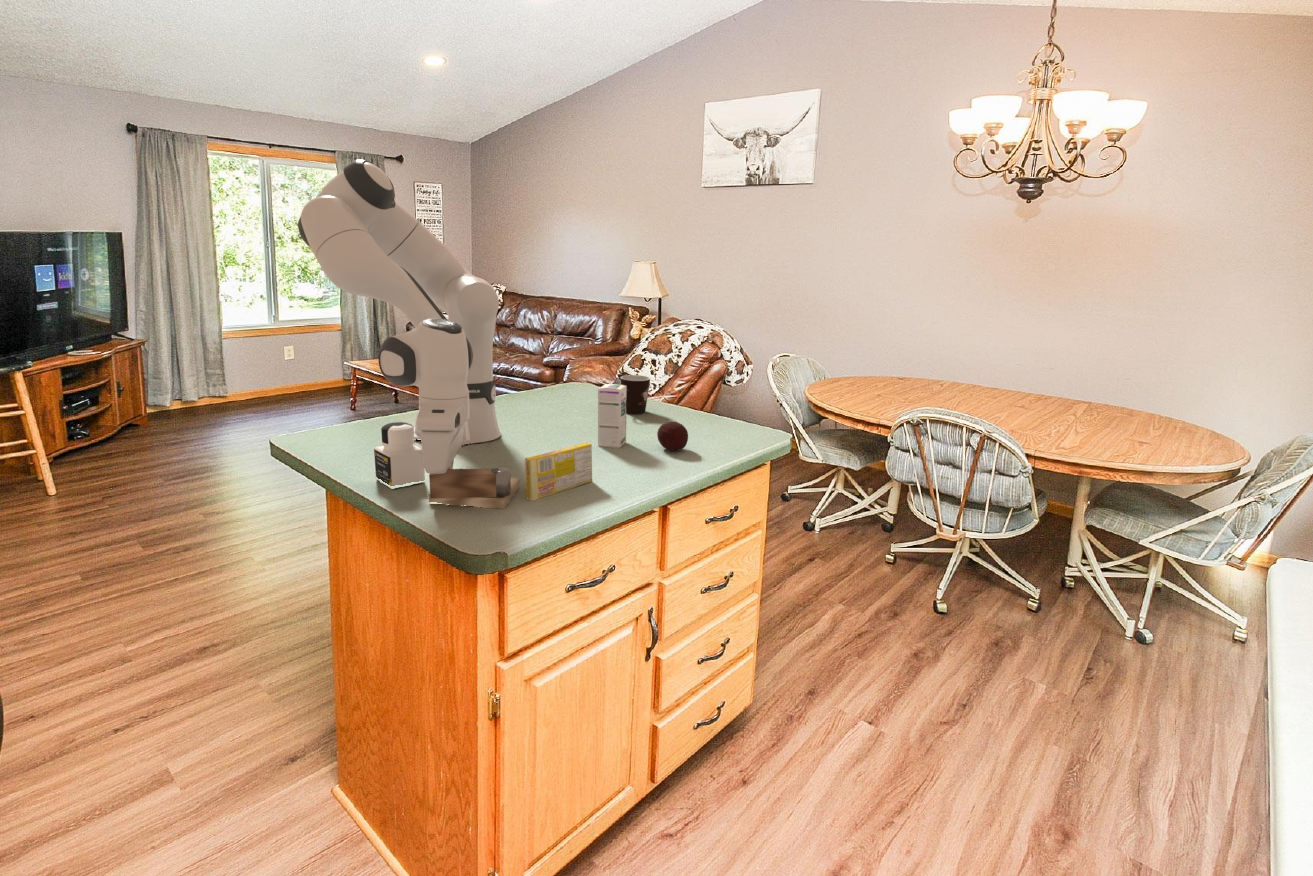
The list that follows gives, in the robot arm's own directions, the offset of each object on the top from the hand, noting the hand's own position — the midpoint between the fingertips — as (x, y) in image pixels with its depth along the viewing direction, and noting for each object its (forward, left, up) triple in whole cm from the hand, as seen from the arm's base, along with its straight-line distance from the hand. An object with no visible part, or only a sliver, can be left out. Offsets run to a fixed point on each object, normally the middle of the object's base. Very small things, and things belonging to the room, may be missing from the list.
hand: (446, 481), depth 137 cm
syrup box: (+26, +44, -4) cm, 51 cm away
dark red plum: (+41, +42, -4) cm, 59 cm away
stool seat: (+5, +3, -4) cm, 7 cm away
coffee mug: (+27, +78, -4) cm, 83 cm away
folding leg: (+5, -2, -1) cm, 6 cm away
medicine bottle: (-12, +8, -4) cm, 15 cm away
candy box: (+20, +9, -4) cm, 22 cm away
